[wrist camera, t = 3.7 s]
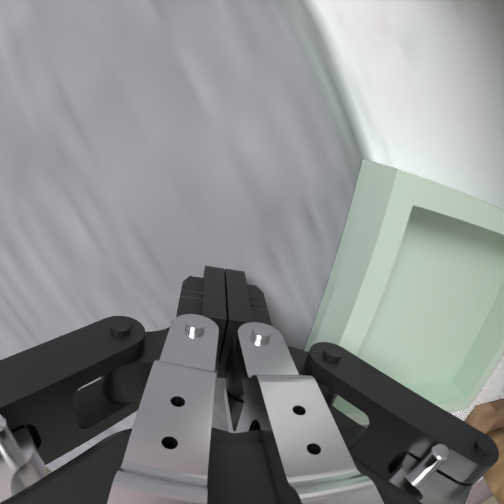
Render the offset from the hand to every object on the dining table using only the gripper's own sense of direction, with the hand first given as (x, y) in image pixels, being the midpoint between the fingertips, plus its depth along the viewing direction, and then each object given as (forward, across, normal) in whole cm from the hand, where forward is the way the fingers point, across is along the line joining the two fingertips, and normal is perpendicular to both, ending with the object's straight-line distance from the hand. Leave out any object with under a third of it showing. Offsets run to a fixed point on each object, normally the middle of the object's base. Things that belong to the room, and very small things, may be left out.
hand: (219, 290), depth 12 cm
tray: (+1, -11, 0) cm, 11 cm away
